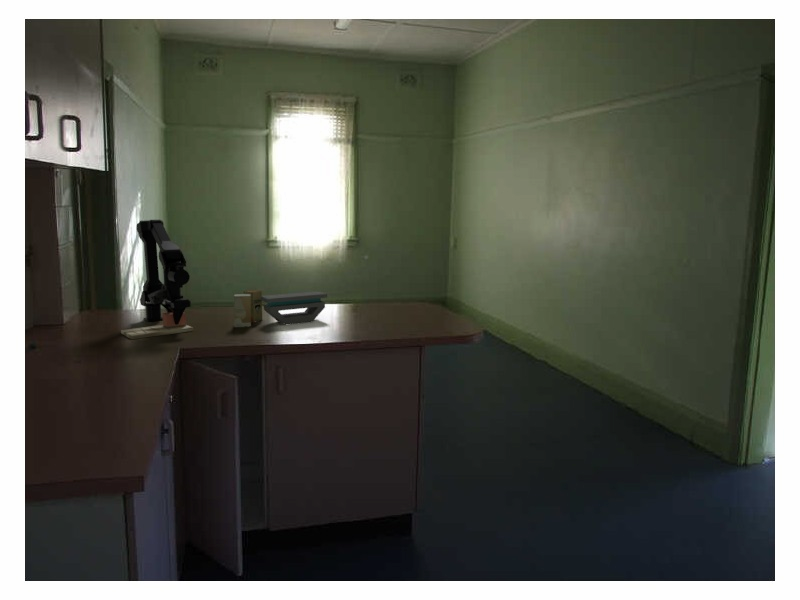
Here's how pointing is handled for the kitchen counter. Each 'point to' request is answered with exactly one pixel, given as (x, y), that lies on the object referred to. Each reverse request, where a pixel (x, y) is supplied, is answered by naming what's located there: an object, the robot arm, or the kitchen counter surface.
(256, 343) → the kitchen counter surface
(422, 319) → the kitchen counter surface
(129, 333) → the cream flat rectangular board
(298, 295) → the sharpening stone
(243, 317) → the skincare box
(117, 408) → the kitchen counter surface
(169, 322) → the block
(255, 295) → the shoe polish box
